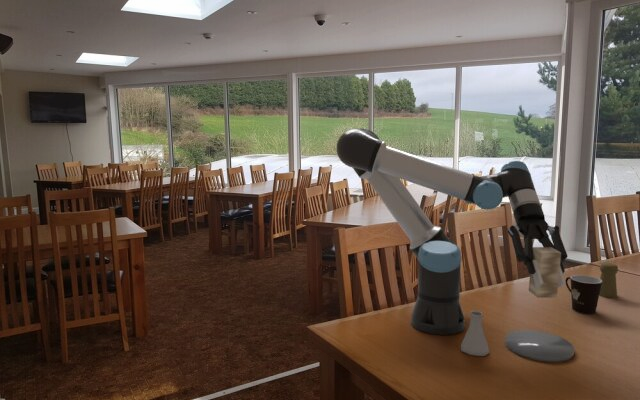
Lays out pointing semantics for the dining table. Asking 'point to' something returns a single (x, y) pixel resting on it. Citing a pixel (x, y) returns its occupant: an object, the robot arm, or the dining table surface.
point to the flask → (475, 337)
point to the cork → (608, 280)
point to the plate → (539, 346)
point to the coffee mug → (584, 293)
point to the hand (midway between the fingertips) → (550, 285)
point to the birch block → (546, 272)
